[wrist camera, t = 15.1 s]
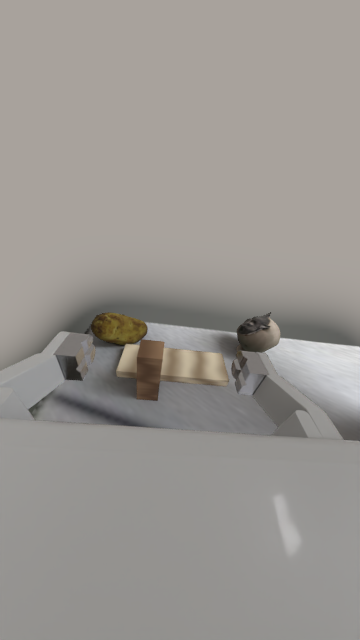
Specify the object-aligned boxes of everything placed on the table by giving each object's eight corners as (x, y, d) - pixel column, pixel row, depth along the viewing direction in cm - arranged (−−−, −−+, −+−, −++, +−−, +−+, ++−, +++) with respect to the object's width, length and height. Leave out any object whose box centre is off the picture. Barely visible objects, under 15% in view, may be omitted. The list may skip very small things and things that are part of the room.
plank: (219, 359, 46) (221, 353, 45) (226, 386, 39) (229, 380, 38) (126, 349, 44) (125, 343, 43) (116, 376, 37) (116, 370, 36)
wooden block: (161, 357, 43) (166, 318, 36) (157, 400, 34) (162, 359, 28) (145, 356, 43) (147, 316, 36) (136, 399, 34) (136, 357, 27)
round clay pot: (227, 337, 54) (233, 363, 45) (241, 303, 47) (250, 325, 39) (260, 342, 54) (272, 369, 46) (277, 309, 47) (295, 333, 39)
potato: (145, 352, 44) (146, 327, 39) (90, 350, 42) (85, 324, 37) (147, 331, 51) (148, 307, 46) (100, 328, 49) (96, 303, 44)
